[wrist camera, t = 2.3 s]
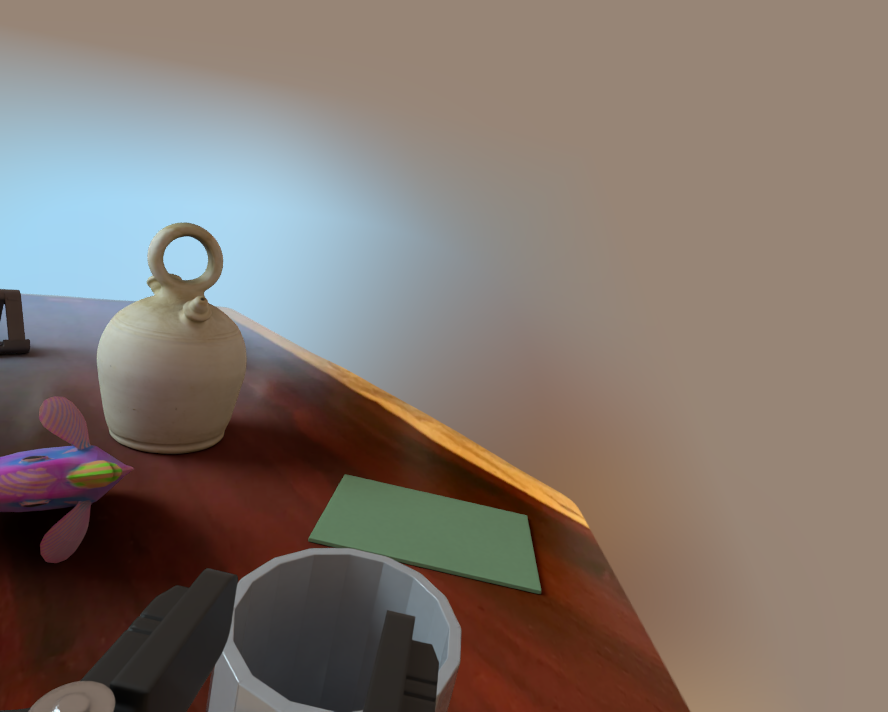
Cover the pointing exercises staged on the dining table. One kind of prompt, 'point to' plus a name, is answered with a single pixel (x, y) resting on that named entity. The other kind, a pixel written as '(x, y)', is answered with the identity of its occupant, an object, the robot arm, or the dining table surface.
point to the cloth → (430, 532)
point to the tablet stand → (13, 323)
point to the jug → (172, 359)
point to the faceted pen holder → (325, 632)
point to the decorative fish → (60, 478)
